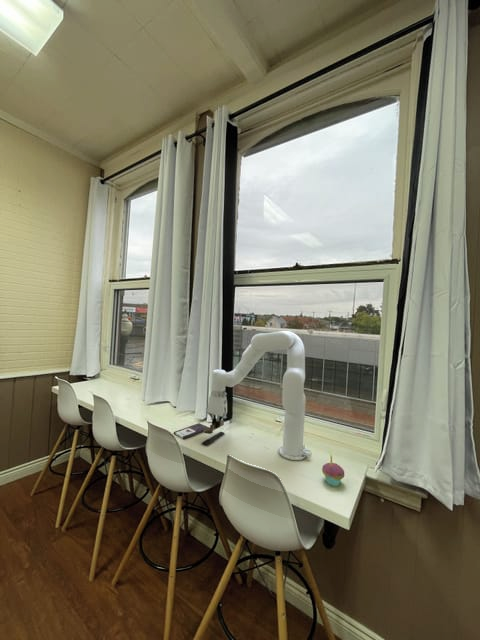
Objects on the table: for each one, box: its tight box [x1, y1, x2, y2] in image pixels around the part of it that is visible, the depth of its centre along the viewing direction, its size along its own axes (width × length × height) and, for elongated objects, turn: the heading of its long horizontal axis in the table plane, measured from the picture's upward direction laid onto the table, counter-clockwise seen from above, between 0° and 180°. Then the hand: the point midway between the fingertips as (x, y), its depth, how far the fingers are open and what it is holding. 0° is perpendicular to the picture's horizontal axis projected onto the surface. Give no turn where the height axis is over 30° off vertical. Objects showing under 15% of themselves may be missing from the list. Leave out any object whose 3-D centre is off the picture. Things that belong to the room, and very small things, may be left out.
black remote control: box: [201, 431, 225, 447], centre depth 140 cm, size 17×3×1 cm, turn 150°
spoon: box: [203, 419, 225, 435], centre depth 140 cm, size 16×5×3 cm, turn 150°
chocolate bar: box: [173, 422, 210, 440], centre depth 147 cm, size 9×1×18 cm
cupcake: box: [321, 454, 345, 487], centre depth 107 cm, size 9×8×12 cm
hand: (215, 427), depth 142 cm, fingers closed on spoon
